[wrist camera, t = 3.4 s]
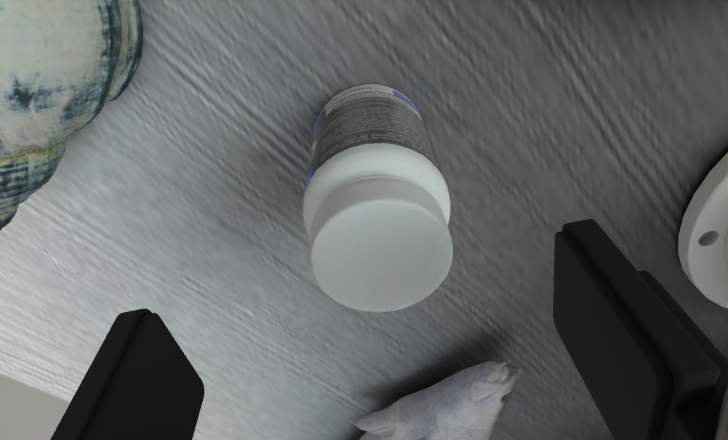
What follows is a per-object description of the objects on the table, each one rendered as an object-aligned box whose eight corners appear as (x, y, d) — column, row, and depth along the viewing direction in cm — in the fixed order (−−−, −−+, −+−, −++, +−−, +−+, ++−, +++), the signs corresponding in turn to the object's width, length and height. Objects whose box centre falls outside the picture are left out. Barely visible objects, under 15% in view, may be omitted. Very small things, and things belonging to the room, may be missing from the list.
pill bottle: (294, 107, 19) (261, 222, 12) (404, 63, 18) (439, 159, 11) (340, 199, 21) (335, 340, 14) (438, 165, 20) (485, 296, 13)
